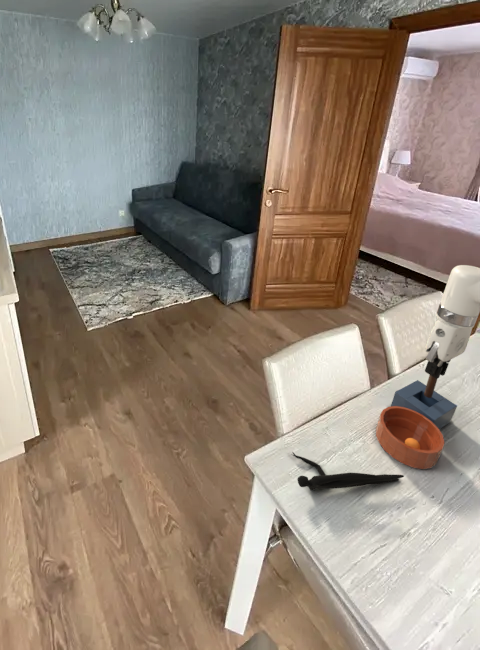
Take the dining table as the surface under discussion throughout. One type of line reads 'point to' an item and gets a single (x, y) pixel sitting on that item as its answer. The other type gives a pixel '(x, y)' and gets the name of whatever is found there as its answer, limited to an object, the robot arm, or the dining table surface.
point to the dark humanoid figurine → (341, 478)
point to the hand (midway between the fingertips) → (434, 373)
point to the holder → (425, 403)
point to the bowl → (409, 424)
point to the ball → (412, 443)
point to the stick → (430, 385)
